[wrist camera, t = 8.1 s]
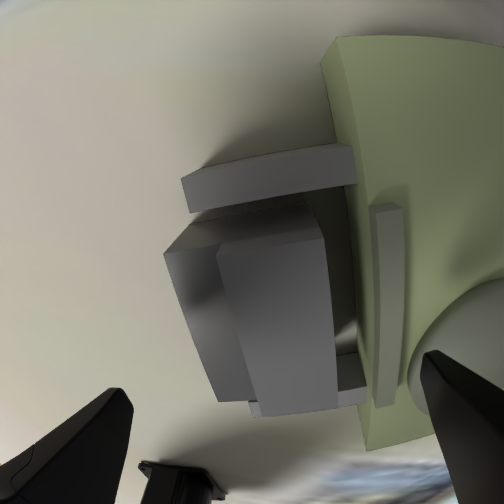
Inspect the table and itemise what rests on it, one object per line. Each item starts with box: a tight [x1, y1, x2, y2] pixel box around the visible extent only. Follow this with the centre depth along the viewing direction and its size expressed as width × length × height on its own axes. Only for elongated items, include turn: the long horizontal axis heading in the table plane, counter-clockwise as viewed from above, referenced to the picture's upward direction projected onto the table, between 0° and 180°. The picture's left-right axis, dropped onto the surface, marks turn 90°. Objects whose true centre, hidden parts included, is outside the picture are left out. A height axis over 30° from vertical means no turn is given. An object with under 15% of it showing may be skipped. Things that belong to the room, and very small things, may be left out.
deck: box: [181, 35, 504, 452], centre depth 11 cm, size 18×14×4 cm
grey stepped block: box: [163, 203, 338, 417], centre depth 12 cm, size 7×5×4 cm
